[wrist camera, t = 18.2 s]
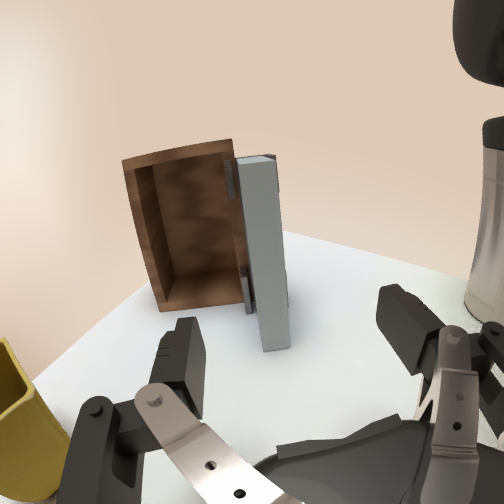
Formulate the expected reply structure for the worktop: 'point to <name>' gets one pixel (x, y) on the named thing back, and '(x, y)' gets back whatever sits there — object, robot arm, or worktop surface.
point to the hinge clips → (232, 196)
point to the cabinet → (189, 225)
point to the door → (265, 248)
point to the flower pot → (27, 436)
